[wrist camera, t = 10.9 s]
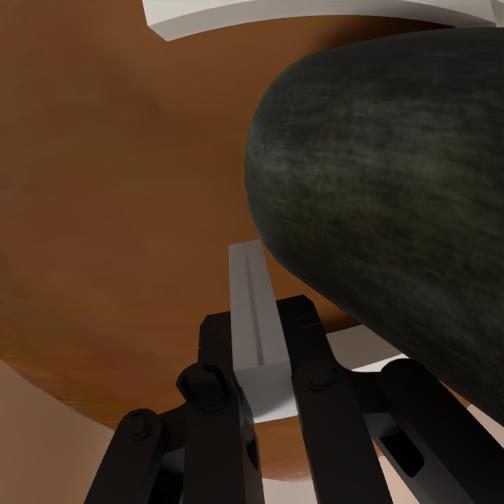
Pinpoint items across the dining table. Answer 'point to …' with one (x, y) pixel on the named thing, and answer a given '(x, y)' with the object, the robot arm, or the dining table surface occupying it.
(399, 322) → the mug
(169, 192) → the dining table surface
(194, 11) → the corral
